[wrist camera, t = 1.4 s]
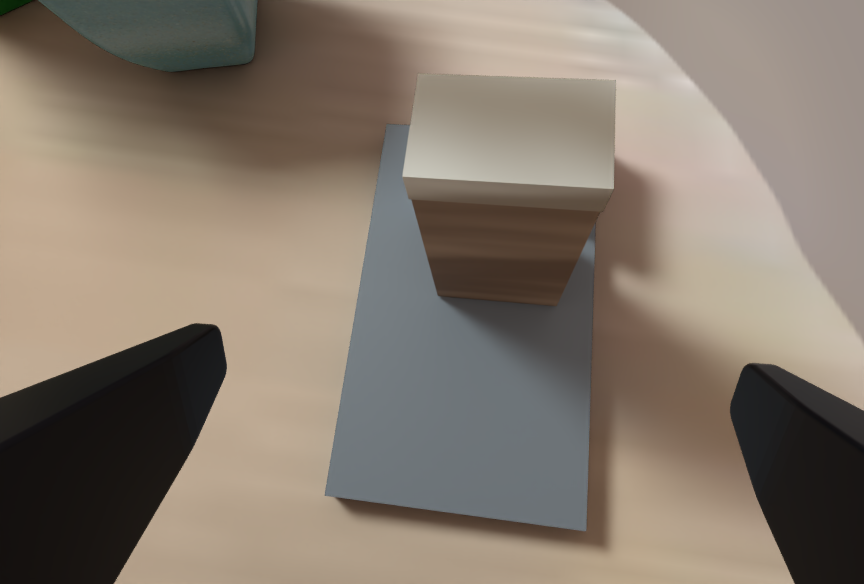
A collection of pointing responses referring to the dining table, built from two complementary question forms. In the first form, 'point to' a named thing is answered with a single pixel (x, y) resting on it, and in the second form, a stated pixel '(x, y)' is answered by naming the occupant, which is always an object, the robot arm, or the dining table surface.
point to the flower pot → (166, 30)
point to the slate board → (461, 384)
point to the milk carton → (11, 5)
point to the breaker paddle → (508, 180)
